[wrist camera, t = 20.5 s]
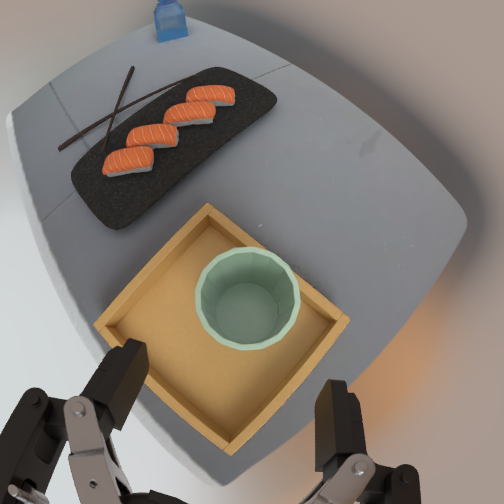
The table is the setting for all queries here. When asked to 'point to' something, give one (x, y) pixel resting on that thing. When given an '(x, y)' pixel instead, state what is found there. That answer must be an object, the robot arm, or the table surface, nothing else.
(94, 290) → the table surface
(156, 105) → the sushi plate
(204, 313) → the teacup
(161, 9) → the perfume bottle
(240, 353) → the tray
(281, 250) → the table surface
